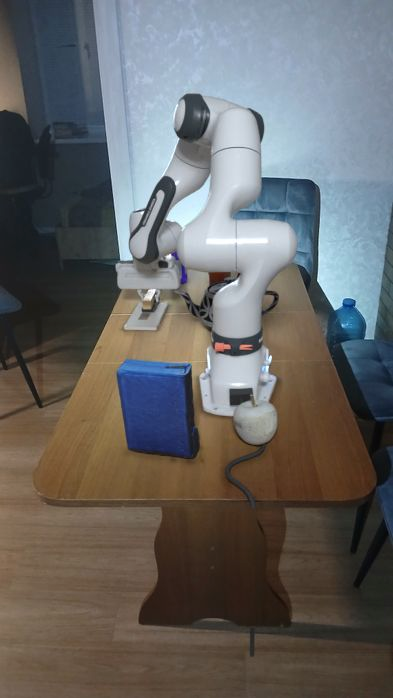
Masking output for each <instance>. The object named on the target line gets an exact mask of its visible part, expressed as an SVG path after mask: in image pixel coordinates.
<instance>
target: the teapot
mask: <svg viewBox="0 0 393 698" xmlns="http://www.w3.org/2000/svg"><path fill="white" fill-rule="evenodd" d="M235 280H236V277H232V276H230V277H228V278H225V279H224V281H222V282H217V283H214V284H211V285H210V286H209V285H208V286H207V287H206V288H205V291H204V293H203V295H202V298H201V301H200V303H199V304H196V303H194V302H193V300H192V298H191V295H190V294H189V293H188V291H186V290H173V292H174V293H176V294H178V295H179V296H181V297H182V298H183V300H184V303H185V305H186V308H187V310H188V312H189V313H190V314H191V315H192V317H195V318H196V319H199V320H200V322H201V323H202V324H203V326H204V327H206V328H208V330H210V331H212V327H213V303H212V302H213V298H214V296H215V294H216V293H217V292H218V291H219V290H220V289H221V288H223V287H224V286H226V285H228V284H230V283H232V282H234V281H235ZM264 296H273V299H272V302H271V303H270V304H269V306H267V307H266V308H264V309H262V313H261V319H262V318H263V316H264V315H267V314H268V313H270V312H271V311H273V309H275V308H276V306H277V305H278V303H279V299H280V294H279V292H277V291H275V290H270V289H269V290H267V289H266V292H265V294H264Z"/></svg>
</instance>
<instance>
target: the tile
mask: <svg viewBox="0 0 393 698" xmlns="http://www.w3.org/2000/svg"><path fill="white" fill-rule="evenodd" d="M142 307H143V302H142V301H139V302H138V303H137V305H136V307H135V309H134V310H133V312H132V313H131V315H130V316H129V318H128V320H127V321H126V323H125V325H124V326H123V329H124V331H157V330H158V328H159V326H160V324H161V322H162V320H163V317H164V316H165V313H166V311H167V310H168V307H169V301H167V302H164V301H163V302H161V301H160V302H159V303H158V305H157V307H156V309H155V311H154V312H142Z"/></svg>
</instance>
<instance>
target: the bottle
mask: <svg viewBox="0 0 393 698" xmlns="http://www.w3.org/2000/svg"><path fill="white" fill-rule="evenodd" d="M170 255H171V256H174V257H175V265H176V266H177V267H178V270H179V274H180V282H181V283H180V284H184V283H186V282H188V269H186V268H185V267H184V266H183V264H182V263H181V262H180V260H179V258H178V255H177V252H174V253H172V254H170Z"/></svg>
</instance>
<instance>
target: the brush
mask: <svg viewBox="0 0 393 698" xmlns="http://www.w3.org/2000/svg"><path fill="white" fill-rule="evenodd" d="M147 290H148V291H147V292H146V293H145V294H144V295H145V297H144V299H143V300H142V299H141V302H143V307H142V312H154V311H155V309H156V307H157V305H158V303H159V302H161V297H160V296H159V302H154V298H153V297H154V295H157V294H158V292H156V289H147Z"/></svg>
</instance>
